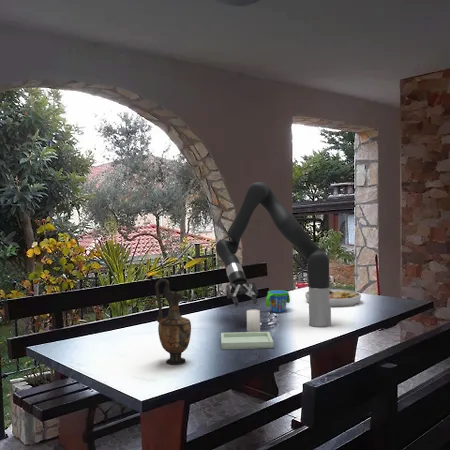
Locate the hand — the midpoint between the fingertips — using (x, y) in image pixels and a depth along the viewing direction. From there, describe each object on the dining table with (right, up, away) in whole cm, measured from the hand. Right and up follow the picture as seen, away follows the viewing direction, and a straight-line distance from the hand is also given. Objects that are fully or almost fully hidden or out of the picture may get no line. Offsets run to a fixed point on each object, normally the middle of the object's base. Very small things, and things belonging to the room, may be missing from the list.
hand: (246, 304), depth 221 cm
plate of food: (+50, -8, +58) cm, 77 cm away
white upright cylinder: (+3, -12, -6) cm, 14 cm away
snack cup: (+18, -10, +37) cm, 42 cm away
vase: (-27, -14, -42) cm, 52 cm away
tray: (-1, -12, -20) cm, 24 cm away
